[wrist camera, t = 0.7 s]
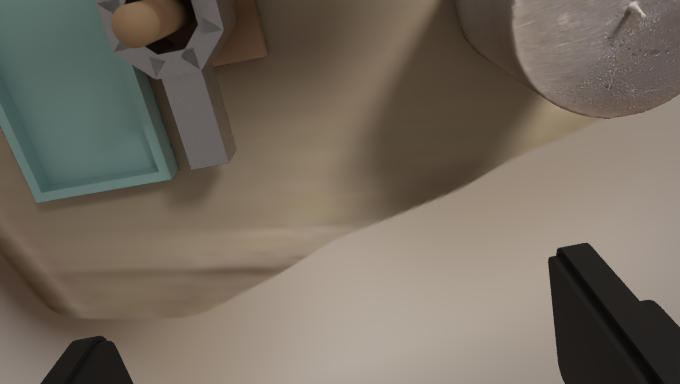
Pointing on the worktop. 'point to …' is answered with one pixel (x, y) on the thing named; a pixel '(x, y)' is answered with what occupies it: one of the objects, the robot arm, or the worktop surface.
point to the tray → (76, 103)
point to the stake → (188, 27)
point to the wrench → (188, 78)
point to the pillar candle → (582, 50)
